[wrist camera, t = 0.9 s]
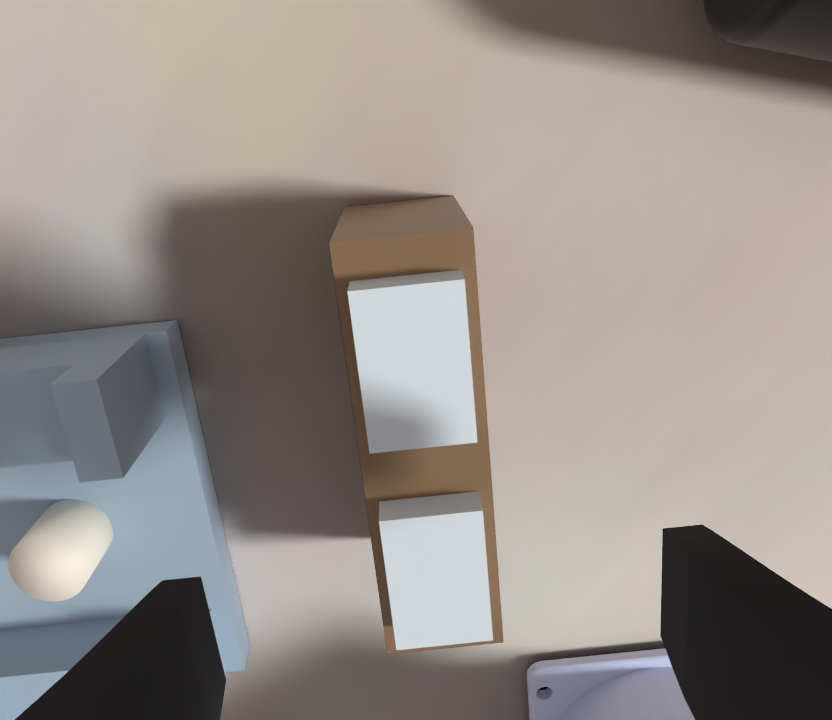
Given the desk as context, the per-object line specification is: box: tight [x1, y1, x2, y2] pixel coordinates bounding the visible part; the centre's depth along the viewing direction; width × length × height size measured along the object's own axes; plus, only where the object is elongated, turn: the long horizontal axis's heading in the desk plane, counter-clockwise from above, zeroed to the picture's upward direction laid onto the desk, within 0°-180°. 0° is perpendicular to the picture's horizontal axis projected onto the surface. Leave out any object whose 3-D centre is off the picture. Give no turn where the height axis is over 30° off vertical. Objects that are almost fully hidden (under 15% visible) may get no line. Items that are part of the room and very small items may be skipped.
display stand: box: [0, 320, 250, 720], centre depth 19 cm, size 11×8×4 cm
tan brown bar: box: [329, 196, 503, 654], centre depth 18 cm, size 10×3×6 cm, turn 6°
